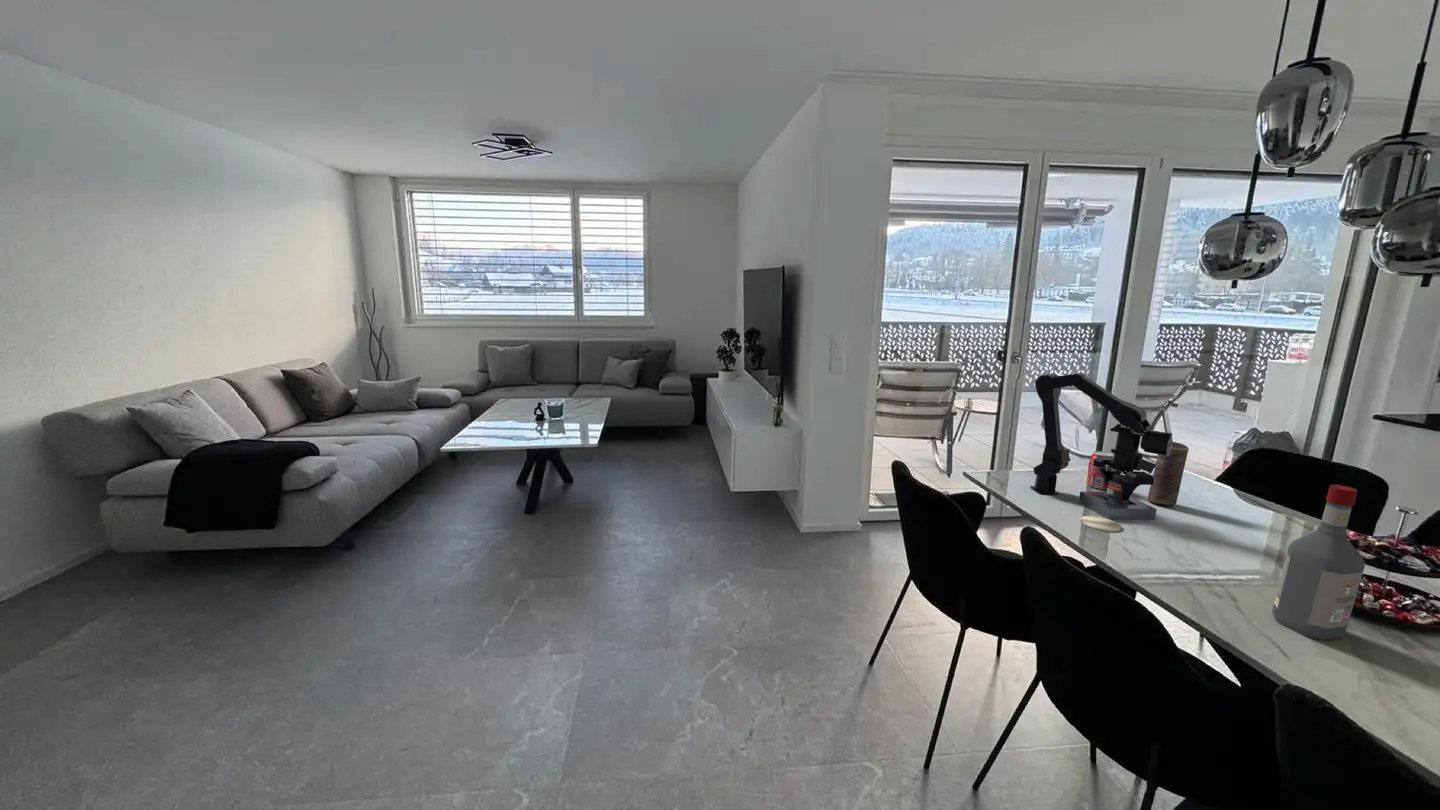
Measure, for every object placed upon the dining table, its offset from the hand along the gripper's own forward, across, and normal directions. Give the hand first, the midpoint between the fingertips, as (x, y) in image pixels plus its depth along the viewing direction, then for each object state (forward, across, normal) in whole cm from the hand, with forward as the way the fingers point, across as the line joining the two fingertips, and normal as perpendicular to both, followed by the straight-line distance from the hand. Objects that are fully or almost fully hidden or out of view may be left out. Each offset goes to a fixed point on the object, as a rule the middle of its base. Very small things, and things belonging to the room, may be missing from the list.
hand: (1117, 496), depth 175 cm
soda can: (+5, +22, -9) cm, 24 cm away
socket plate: (+4, 0, 0) cm, 4 cm away
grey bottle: (+5, -61, +3) cm, 61 cm away
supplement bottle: (+5, 0, 0) cm, 5 cm away
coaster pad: (+4, -11, +12) cm, 17 cm away
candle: (+5, +7, -20) cm, 22 cm away
